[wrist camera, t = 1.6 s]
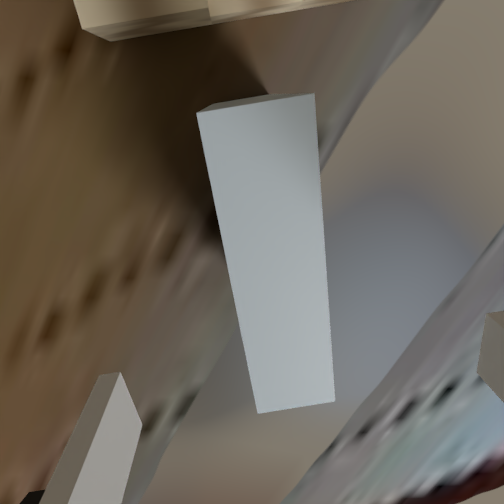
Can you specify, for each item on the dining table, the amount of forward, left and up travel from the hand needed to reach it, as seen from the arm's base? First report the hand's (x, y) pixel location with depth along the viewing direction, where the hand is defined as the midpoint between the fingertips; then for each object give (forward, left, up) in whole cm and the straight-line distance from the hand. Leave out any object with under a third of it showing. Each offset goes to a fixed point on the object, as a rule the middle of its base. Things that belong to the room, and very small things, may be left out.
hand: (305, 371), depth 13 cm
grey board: (0, 0, -24) cm, 24 cm away
